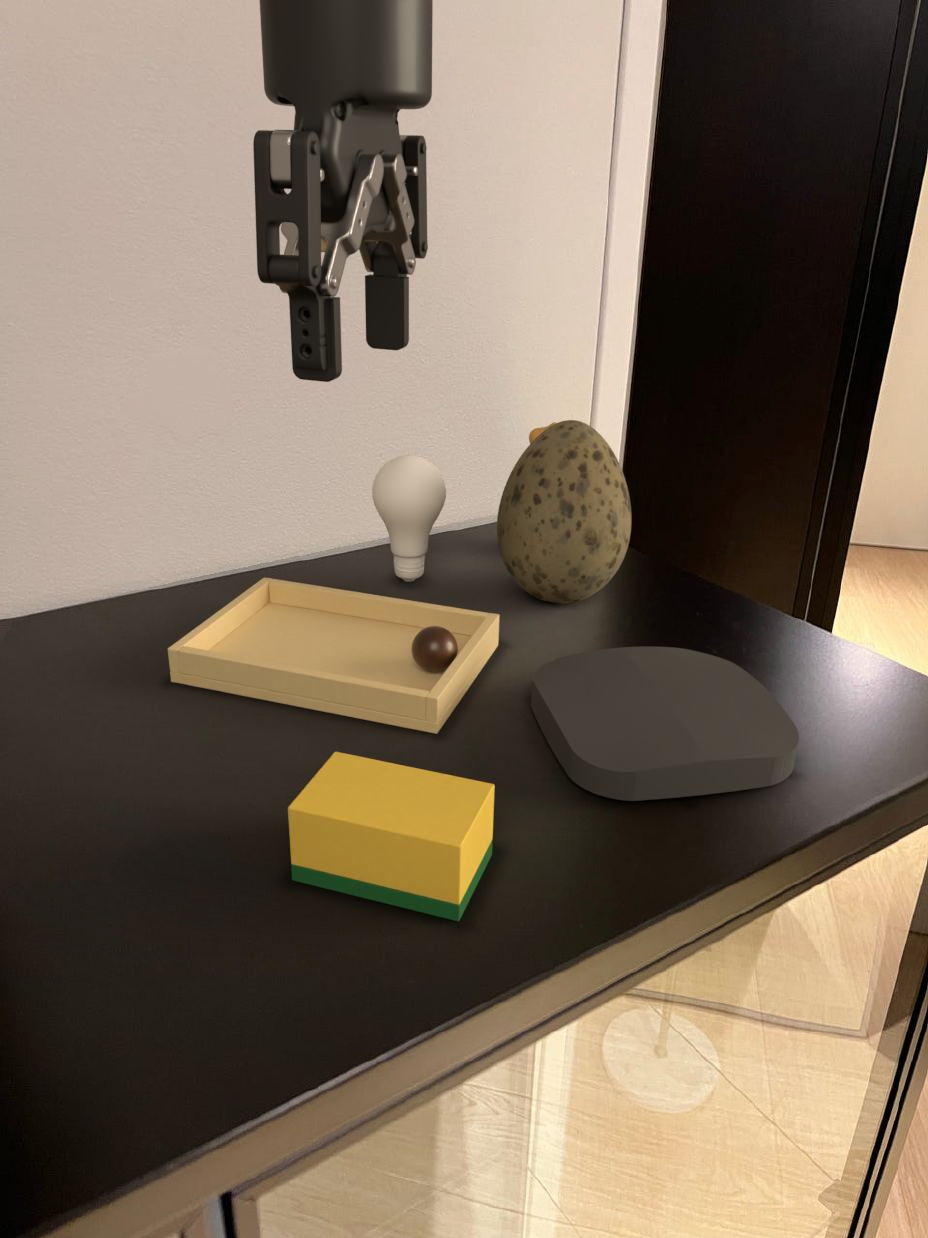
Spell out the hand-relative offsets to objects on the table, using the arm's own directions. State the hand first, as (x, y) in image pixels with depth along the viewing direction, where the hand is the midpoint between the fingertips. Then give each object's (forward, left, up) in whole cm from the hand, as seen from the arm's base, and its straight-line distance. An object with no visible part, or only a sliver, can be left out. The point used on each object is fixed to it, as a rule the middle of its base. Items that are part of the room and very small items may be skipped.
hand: (354, 362), depth 51 cm
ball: (0, +12, -22) cm, 25 cm away
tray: (-7, +12, -24) cm, 28 cm away
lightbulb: (-8, +28, -24) cm, 38 cm away
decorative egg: (+5, +29, -24) cm, 38 cm away
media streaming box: (+16, +10, -24) cm, 31 cm away
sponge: (+5, -8, -24) cm, 26 cm away
